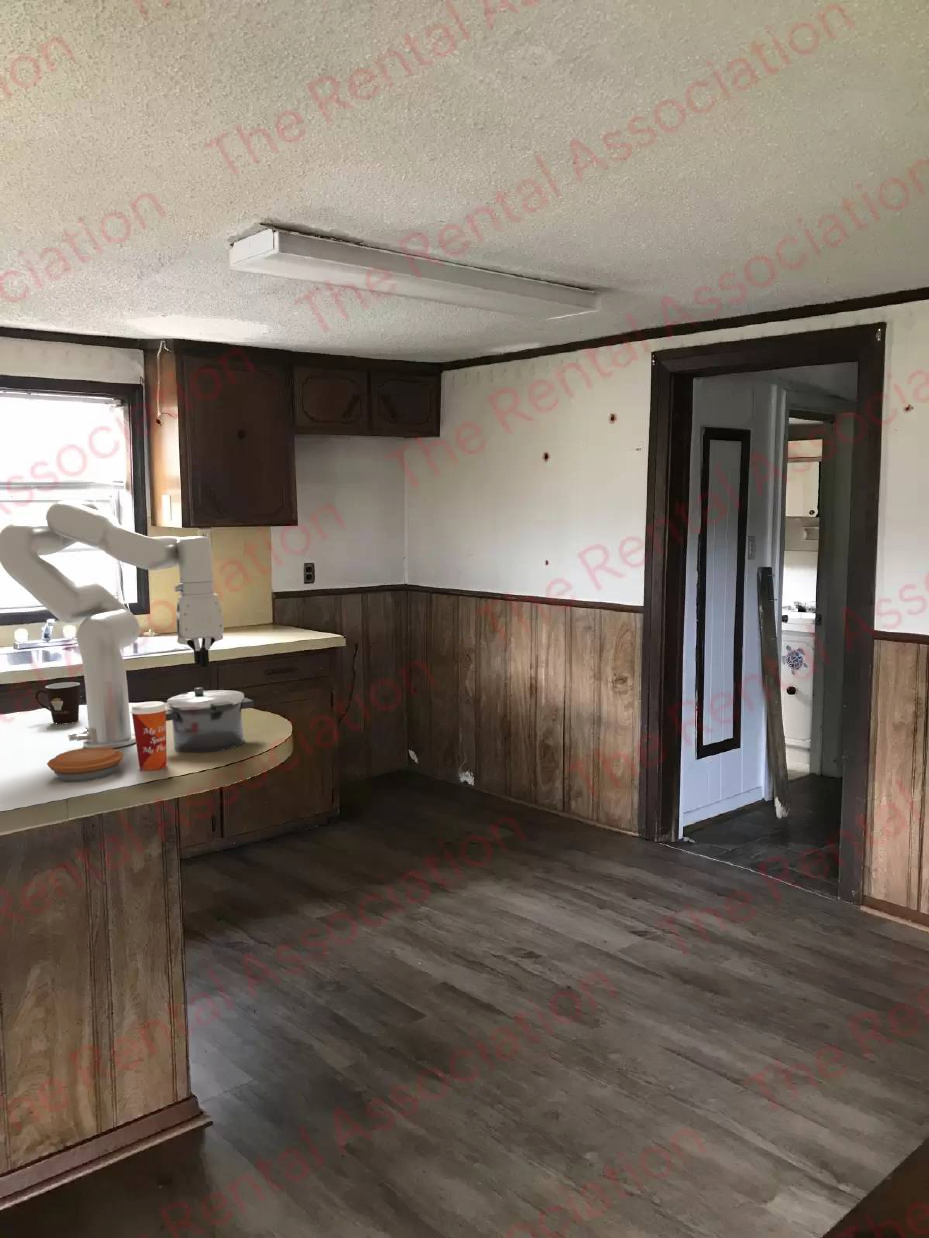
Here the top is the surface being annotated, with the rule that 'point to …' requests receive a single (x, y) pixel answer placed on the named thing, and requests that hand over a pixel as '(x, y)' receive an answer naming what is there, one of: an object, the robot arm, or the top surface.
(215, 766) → the top surface
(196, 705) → the cooker lid
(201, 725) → the cooker pot
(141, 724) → the paper cup
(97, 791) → the top surface
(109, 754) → the pie
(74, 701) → the coffee mug
